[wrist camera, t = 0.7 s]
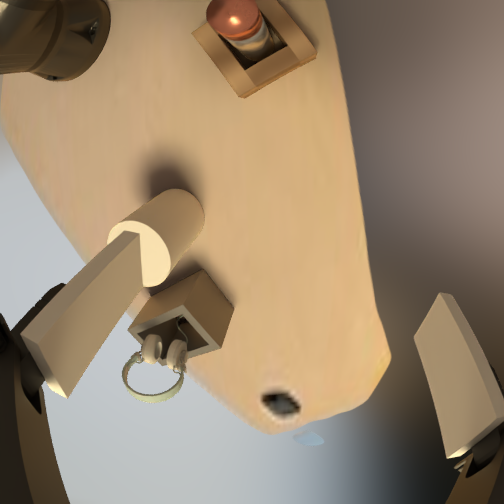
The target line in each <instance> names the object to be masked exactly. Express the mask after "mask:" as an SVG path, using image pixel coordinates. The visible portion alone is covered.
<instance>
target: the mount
mask: <svg viewBox="0 0 504 504" xmlns="http://www.w3.org/2000/svg"><path fill="white" fill-rule="evenodd" d="M255 2H256V4H257V6H258V8H259V10H260V12H261V15H262V17H263V19H264V20H265V21H266V22H267V24H268V25H269V26H270V27H271V28H272V30H273V31H274V32H275V34H276V35H277V36H278V37H279V39H280V40H281V41H282V43H283V44H284V45H285V48H283V49H281V50H279V51H277V52H276V53H274V54H272V55H270V56H269V57H267V58H265V59H263V60H262V61H260V62H258V63H257V64H255V65H253V66H252V67H250V68H248V69H246V68H245V67H244V65H243V64H242V63H241V61H240V60H239V59H238V57H237V56H236V55H235V53H234V52H233V51H232V49H231V48H230V47H229V45H228V44H227V43H226V42H227V41H228V40H227V39H225V38H224V37H223V36H222V35H221V34H220V33H218V32H217V31H216V30H215V29H214V28H213V27H212V26H211V25H210V24H209V23H208V22H207V23H205V24H204V25H202V26H201V27H199V28H198V29H197V30H195V31H194V32H192V33H191V34H192V35H193V36H194V37H195V39H196V40H197V41H198V42H199V44H200V45H201V46H202V48H203V49H204V50H205V52H206V53H207V54H208V55H209V57H210V58H211V59H212V61H213V62H214V63H215V65H216V66H217V68H218V69H219V70H220V72H221V73H222V74H223V76H224V77H225V78H226V80H227V81H228V83H229V84H230V85H231V87H232V88H233V90H234V91H235V92H236V94H237V95H238V97H241V98H247V97H248V96H250V95H252V94H253V93H255V92H256V91H258V90H260V89H261V88H263V87H265V86H266V85H268V84H270V83H272V82H273V81H275V80H277V79H278V78H280V77H282V76H284V75H286V74H287V73H289V72H291V71H293V70H295V69H297V68H298V67H300V66H302V65H304V64H306V63H308V62H310V61H312V60H314V59H316V55H317V51H316V50H315V48H314V47H313V45H312V44H311V43H310V41H309V40H308V39H307V37H306V36H305V35H304V33H303V32H302V31H301V30H300V28H299V27H298V26H297V24H296V23H295V22H294V21H293V19H292V18H291V17H290V16H289V15H288V13H287V12H286V11H285V10H284V9H283V7H282V6H281V5H280V4H279V3H278V2H277V0H255Z"/></svg>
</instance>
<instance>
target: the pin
mask: <svg viewBox="0 0 504 504" xmlns="http://www.w3.org/2000/svg"><path fill="white" fill-rule="evenodd" d="M206 17H207V21H208V23H209V24H210V25H211V26H212V27H213V28H214V29H215V30H216V31H217V32H218V33H220V34H221V35H222V36H223V37H224V38H225V39H227V40H228V41H229V42H230V43H231V44H232V45H233V46H234V47H235V48H237V49H238V50H239V51H240V52H241V53H242V54H243V55H244V56H245V57H246V58H248V59H250V60H253V61H261V60H263V59H265V58H267V57H269V56H270V55H271V54H272V52H273V50H274V43H273V40H272V38H271V35H270V33H269V31H268V28H267V26H266V24H265V21H264V19H263V17H262V15H261V12H260V10H259V8H258V6H257V4H256V2H255V0H212V1H211V3H210V4H209V6H208V8H207V12H206Z"/></svg>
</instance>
